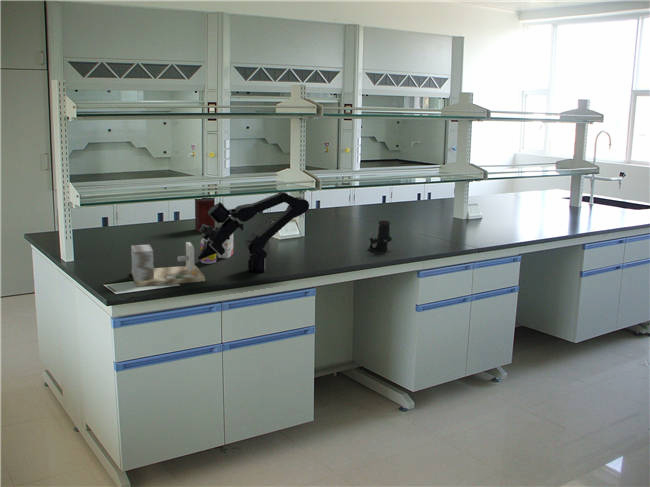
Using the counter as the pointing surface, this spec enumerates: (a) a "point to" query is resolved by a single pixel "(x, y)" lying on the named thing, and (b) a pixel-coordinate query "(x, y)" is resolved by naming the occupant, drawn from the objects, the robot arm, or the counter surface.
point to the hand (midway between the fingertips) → (198, 258)
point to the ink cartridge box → (227, 248)
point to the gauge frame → (158, 270)
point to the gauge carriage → (188, 258)
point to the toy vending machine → (203, 213)
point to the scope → (381, 237)
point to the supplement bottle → (210, 258)
